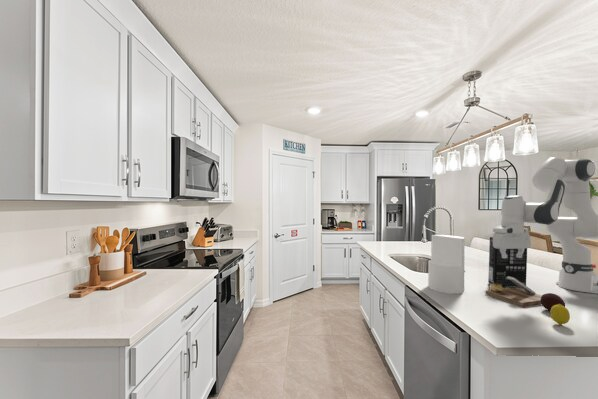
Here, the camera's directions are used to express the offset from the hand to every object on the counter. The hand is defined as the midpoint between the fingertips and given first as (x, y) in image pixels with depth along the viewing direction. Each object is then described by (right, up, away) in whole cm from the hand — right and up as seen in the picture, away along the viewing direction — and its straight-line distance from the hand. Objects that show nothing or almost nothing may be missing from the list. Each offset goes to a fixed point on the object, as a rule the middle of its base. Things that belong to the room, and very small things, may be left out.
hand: (511, 257), depth 137 cm
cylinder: (-23, -20, +17) cm, 35 cm away
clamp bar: (+6, -14, +2) cm, 15 cm away
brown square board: (+4, -20, +2) cm, 21 cm away
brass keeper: (-2, -18, +6) cm, 19 cm away
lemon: (-2, -20, -28) cm, 35 cm away
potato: (+7, -21, -14) cm, 26 cm away
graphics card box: (+15, -21, +23) cm, 34 cm away
